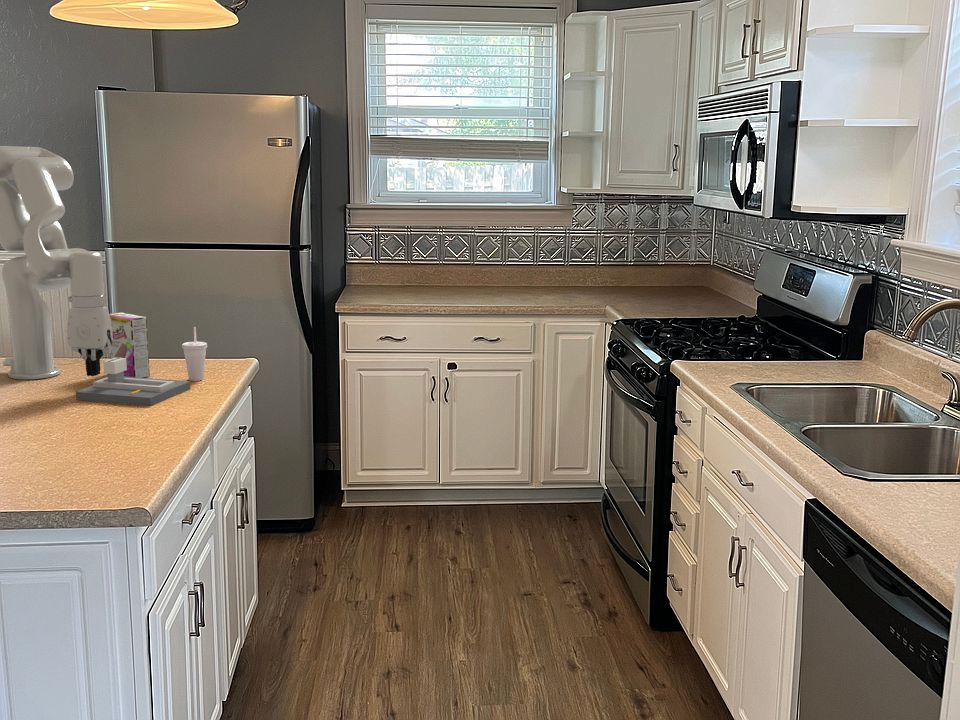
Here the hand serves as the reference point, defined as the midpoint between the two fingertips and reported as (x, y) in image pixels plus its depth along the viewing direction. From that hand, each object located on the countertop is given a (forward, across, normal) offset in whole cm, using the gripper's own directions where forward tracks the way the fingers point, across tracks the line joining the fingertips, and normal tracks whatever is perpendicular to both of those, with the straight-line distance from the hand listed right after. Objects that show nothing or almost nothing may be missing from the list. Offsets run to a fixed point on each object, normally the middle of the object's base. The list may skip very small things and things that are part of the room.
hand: (93, 374), depth 238 cm
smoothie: (+4, +17, +19) cm, 26 cm away
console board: (+4, +11, 0) cm, 12 cm away
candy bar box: (+4, -2, +18) cm, 19 cm away
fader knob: (+2, +6, 0) cm, 6 cm away
